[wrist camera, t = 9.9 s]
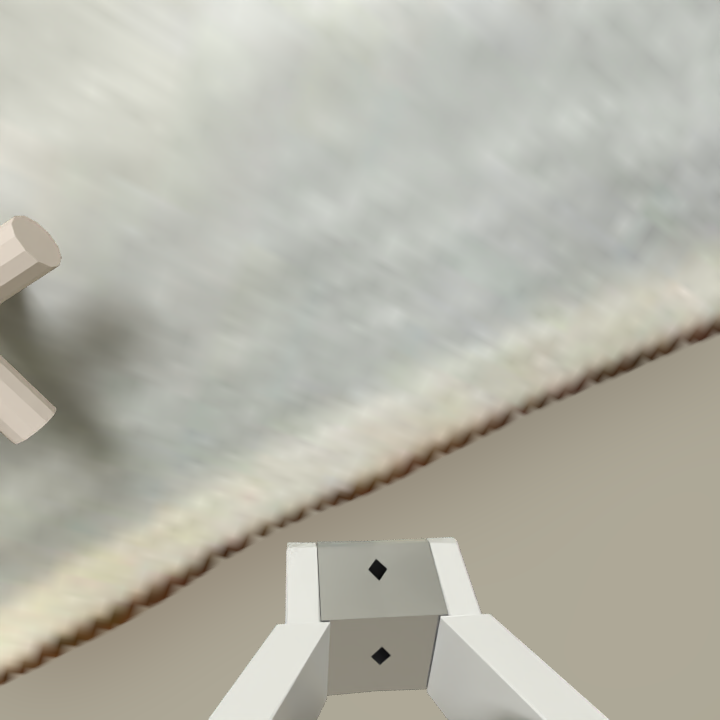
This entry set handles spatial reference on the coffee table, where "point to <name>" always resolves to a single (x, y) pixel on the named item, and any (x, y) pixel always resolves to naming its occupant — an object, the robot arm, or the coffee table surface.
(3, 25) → the coffee table surface
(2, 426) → the pipe connector
